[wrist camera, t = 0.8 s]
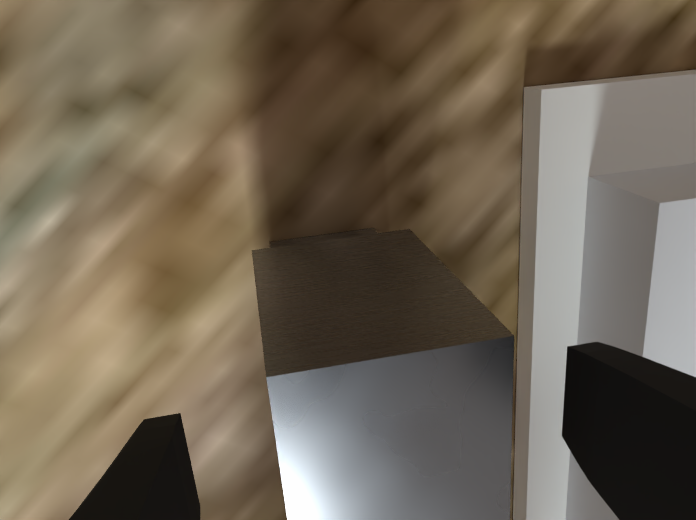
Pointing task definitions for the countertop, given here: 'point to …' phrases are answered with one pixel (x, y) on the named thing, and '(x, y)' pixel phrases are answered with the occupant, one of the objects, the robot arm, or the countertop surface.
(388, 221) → the countertop surface
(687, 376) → the robot arm
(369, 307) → the grey tall block
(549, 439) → the bracket board
